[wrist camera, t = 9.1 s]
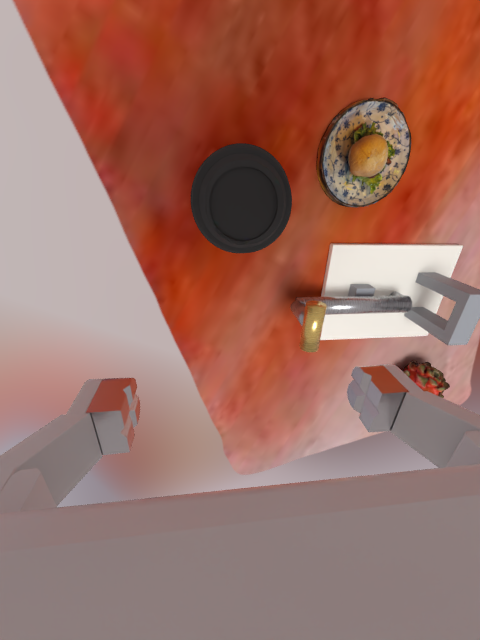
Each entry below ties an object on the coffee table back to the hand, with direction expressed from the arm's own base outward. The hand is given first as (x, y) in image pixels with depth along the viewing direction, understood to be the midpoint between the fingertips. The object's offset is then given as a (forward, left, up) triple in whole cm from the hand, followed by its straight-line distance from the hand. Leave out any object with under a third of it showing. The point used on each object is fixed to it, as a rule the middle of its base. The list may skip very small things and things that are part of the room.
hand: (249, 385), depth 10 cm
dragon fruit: (+27, +38, -31) cm, 56 cm away
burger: (-10, +19, -32) cm, 38 cm away
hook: (+9, +20, -30) cm, 37 cm away
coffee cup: (-5, +2, -31) cm, 32 cm away
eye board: (+9, +27, -31) cm, 42 cm away
